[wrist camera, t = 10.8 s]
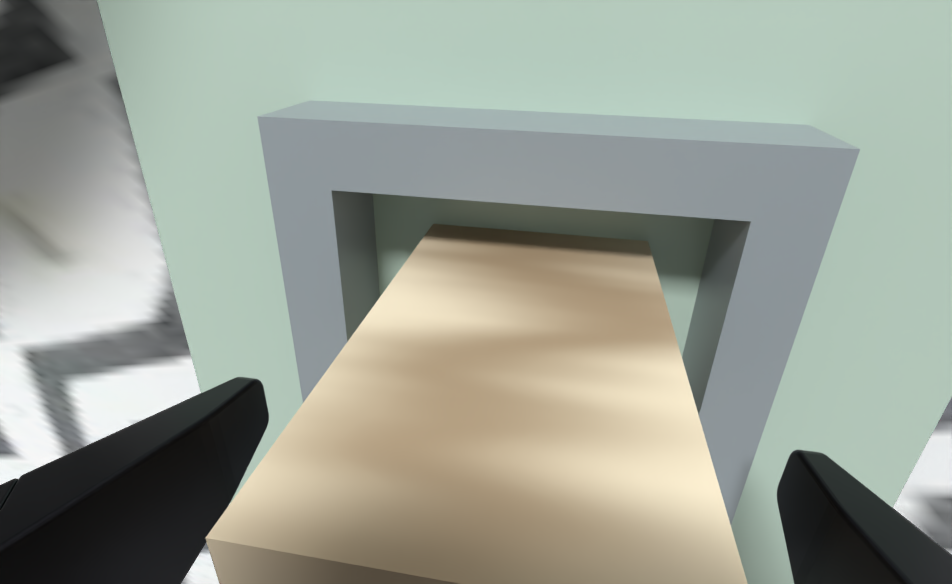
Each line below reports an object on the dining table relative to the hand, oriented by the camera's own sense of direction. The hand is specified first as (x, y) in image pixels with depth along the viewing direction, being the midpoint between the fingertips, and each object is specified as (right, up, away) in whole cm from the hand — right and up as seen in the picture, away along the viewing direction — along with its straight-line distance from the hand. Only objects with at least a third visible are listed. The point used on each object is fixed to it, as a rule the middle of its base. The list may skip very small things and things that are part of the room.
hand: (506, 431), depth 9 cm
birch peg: (+1, +2, +3) cm, 4 cm away
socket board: (+1, +2, +4) cm, 5 cm away
